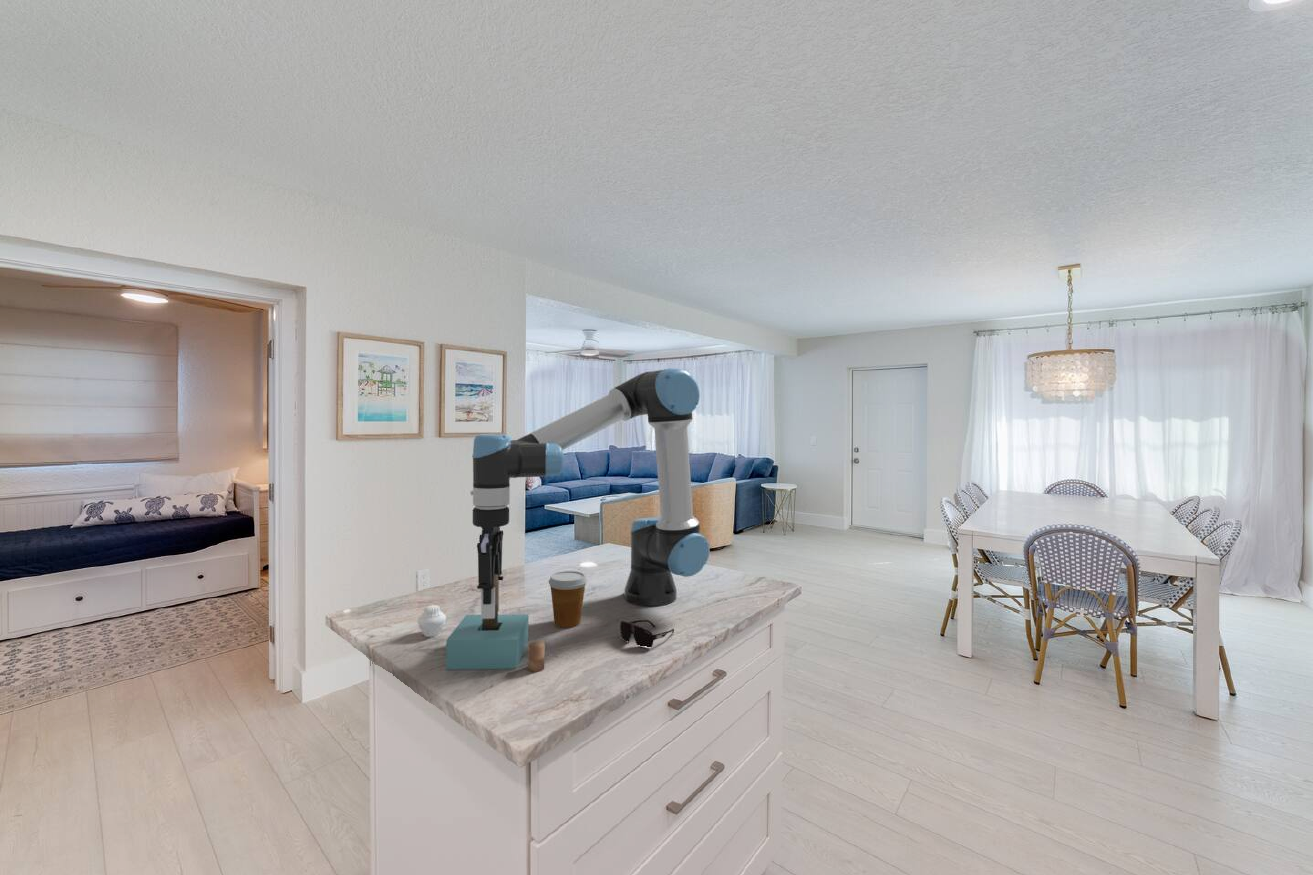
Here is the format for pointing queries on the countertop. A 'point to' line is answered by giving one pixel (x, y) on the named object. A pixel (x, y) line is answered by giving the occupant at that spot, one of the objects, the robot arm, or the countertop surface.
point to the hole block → (487, 643)
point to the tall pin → (493, 623)
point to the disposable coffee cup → (567, 597)
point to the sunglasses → (640, 633)
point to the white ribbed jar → (431, 621)
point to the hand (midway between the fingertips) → (490, 614)
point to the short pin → (536, 656)
